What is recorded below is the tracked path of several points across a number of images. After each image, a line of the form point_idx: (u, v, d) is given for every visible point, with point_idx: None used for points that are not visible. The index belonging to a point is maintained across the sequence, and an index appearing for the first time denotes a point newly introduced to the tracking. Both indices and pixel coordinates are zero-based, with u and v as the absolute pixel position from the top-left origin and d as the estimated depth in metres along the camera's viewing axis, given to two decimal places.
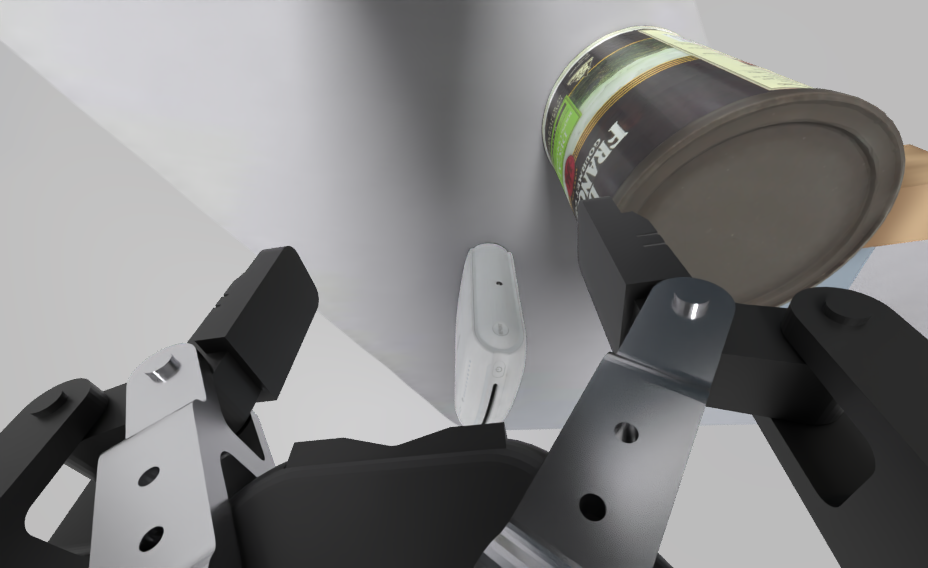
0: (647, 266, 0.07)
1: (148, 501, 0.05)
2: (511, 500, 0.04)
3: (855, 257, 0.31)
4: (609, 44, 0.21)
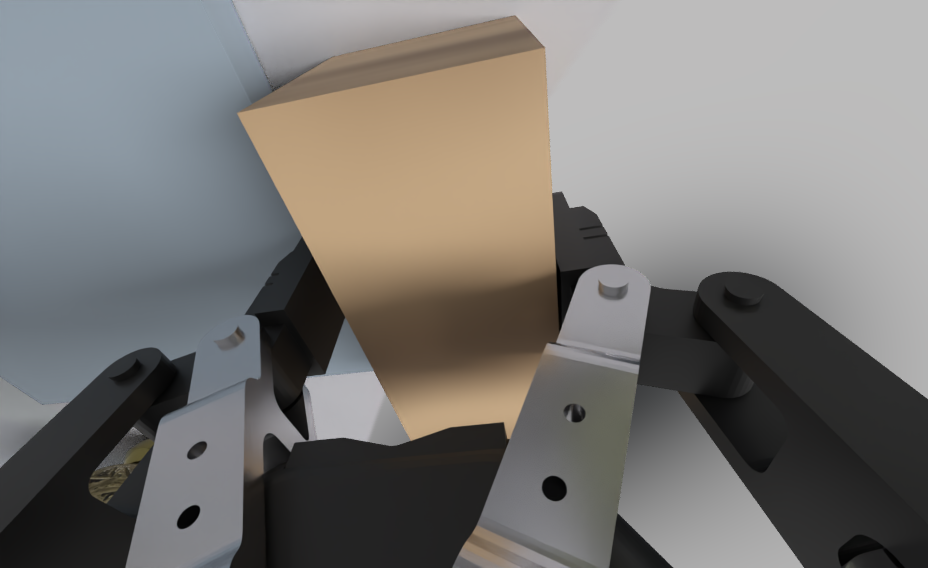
0: (582, 255, 0.08)
1: (192, 476, 0.05)
2: None
3: None
4: None
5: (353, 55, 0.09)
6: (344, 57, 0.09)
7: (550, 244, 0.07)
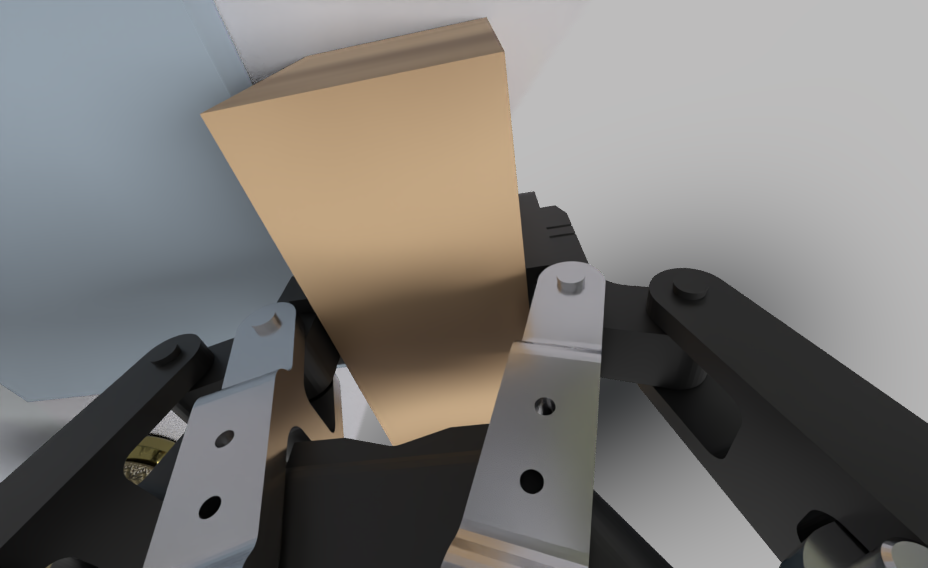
0: (546, 252, 0.08)
1: (217, 465, 0.05)
2: None
3: None
4: None
5: (325, 56, 0.09)
6: (316, 57, 0.09)
7: (519, 244, 0.07)
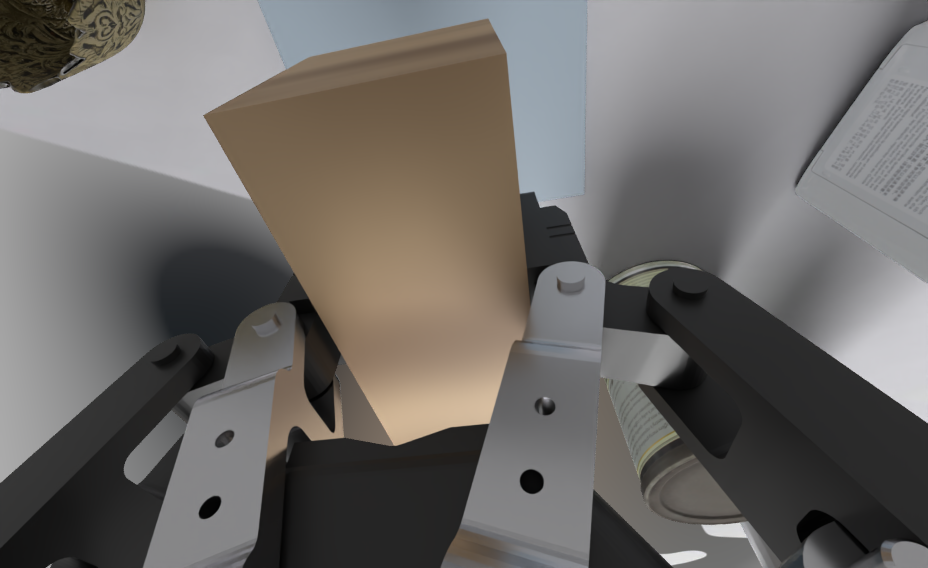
0: (546, 252, 0.08)
1: (217, 465, 0.05)
2: None
3: None
4: None
5: (327, 57, 0.09)
6: (318, 58, 0.09)
7: (520, 245, 0.07)
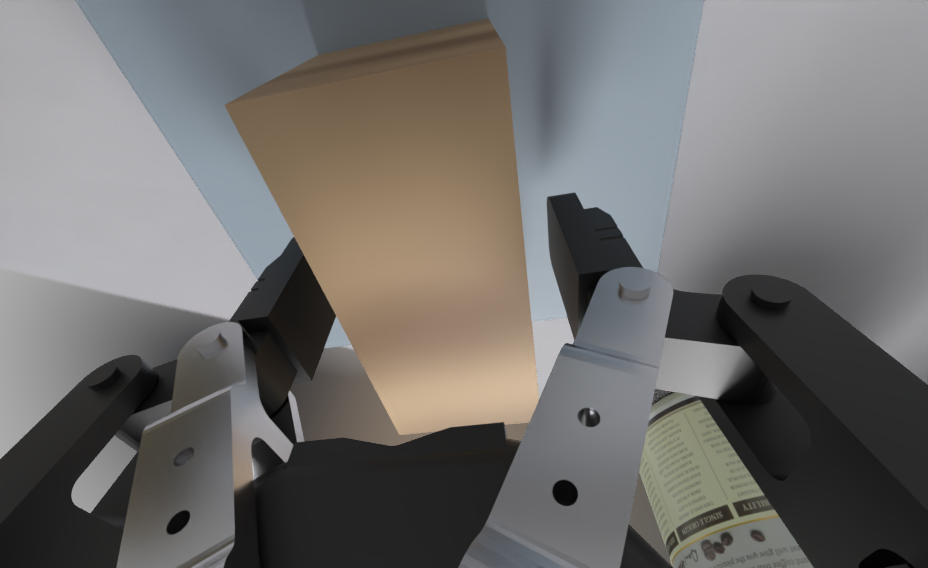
0: (600, 257, 0.08)
1: (180, 482, 0.05)
2: None
3: None
4: None
5: (336, 54, 0.09)
6: (327, 56, 0.09)
7: (519, 229, 0.08)
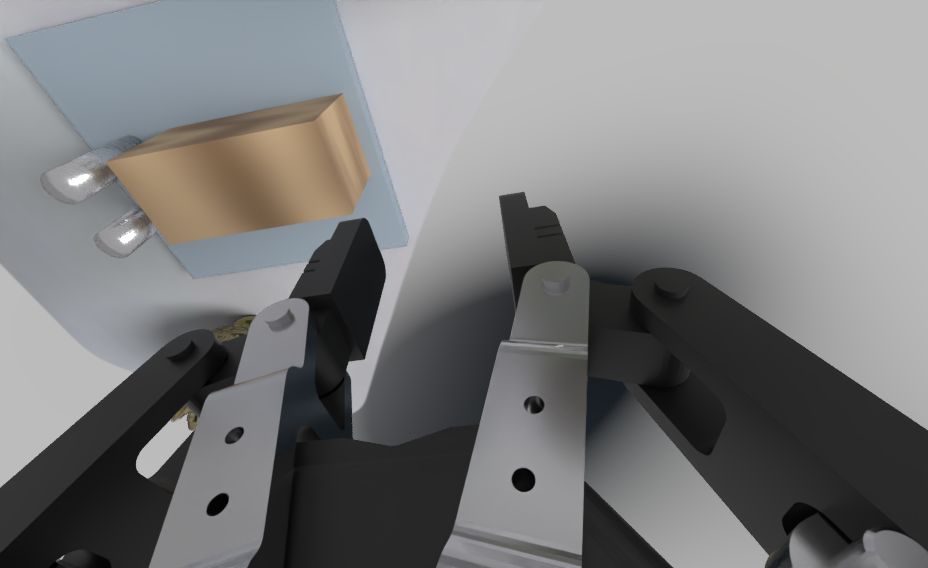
0: (533, 252, 0.08)
1: (226, 462, 0.05)
2: None
3: None
4: None
5: None
6: None
7: (169, 151, 0.17)
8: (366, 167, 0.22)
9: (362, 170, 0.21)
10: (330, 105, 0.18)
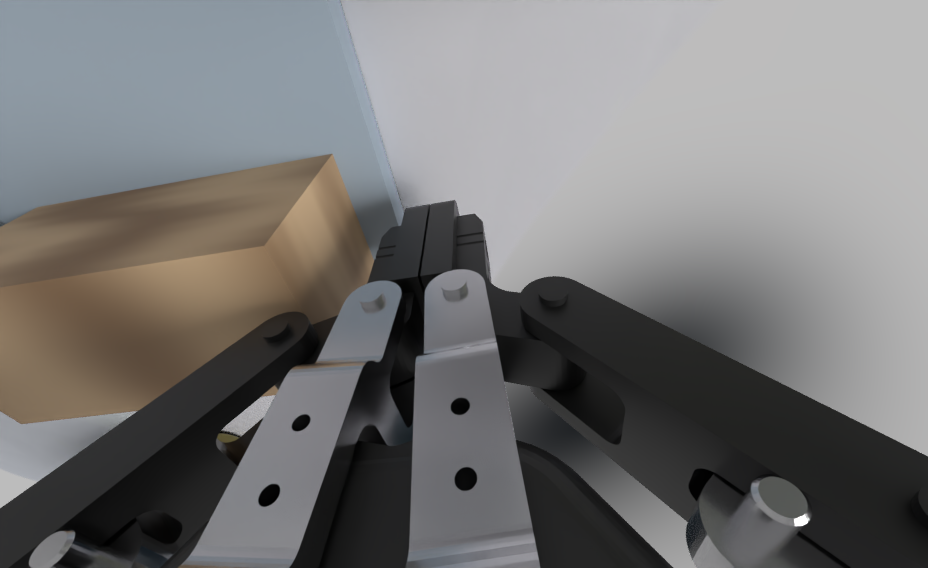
0: (444, 260, 0.08)
1: (287, 450, 0.05)
2: None
3: None
4: None
5: None
6: None
7: None
8: None
9: (366, 277, 0.13)
10: (306, 189, 0.09)
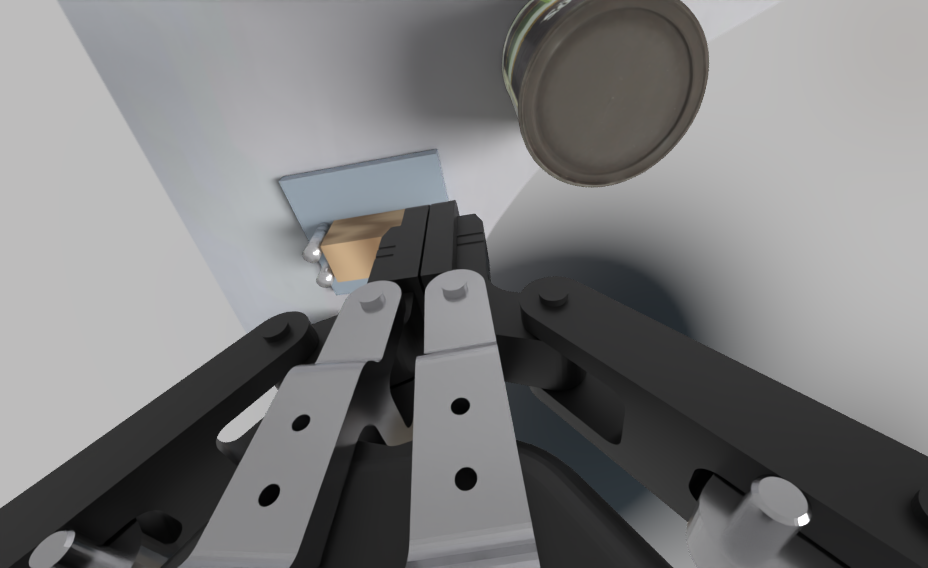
0: (444, 260, 0.08)
1: (287, 450, 0.05)
2: None
3: None
4: None
5: None
6: None
7: (351, 241, 0.36)
8: None
9: None
10: None
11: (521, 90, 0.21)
